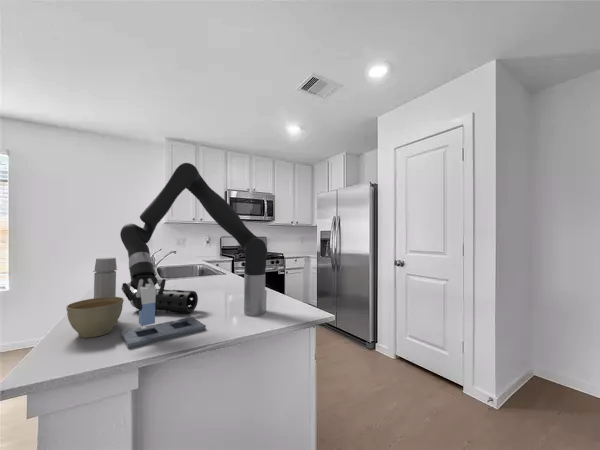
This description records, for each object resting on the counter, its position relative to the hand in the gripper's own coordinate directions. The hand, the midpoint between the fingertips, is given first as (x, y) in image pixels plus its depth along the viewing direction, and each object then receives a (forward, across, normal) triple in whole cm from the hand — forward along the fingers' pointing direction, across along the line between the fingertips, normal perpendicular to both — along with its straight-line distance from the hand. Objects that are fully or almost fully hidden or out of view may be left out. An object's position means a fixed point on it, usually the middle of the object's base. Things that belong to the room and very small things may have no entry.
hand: (148, 307), depth 89 cm
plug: (+3, 0, +5) cm, 6 cm away
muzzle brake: (-13, +13, +29) cm, 34 cm away
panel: (+6, +6, +9) cm, 12 cm away
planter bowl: (-5, -12, +21) cm, 25 cm away
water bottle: (-15, -9, +31) cm, 35 cm away
